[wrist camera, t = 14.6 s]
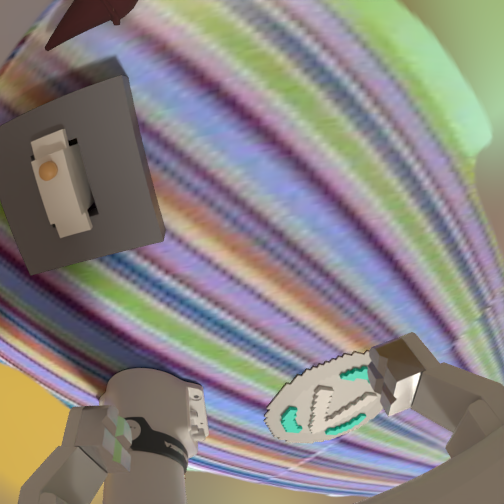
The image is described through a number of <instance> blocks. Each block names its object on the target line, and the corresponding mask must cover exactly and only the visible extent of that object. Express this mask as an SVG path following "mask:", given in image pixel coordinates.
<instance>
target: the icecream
mask: <svg viewBox="0 0 504 504" xmlns="http://www.w3.org/2000/svg"><path fill="white" fill-rule="evenodd" d="M137 1H138V0H74V2H73V3H72V5H71V6H70V7H69V9H68V10H67V12H66V13H65V15H64V17H63V18H62V20H61V21H60V23H59V24H58V26H57V28H56V29H55V31H54V32H53V34H52V36H51V37H50V39H49V41H48V43H47V44H46V46H45V50H47V51H49V50H51V49H53V48H54V47H56V46H58V45H60V44H62V43H63V42H65V41H67V40H69V39H71V38H73V37H75V36H77V35H79V34H81V33H83V32H85V31H87V30H89V29H91V28H94V27H96V26H98V25H100V24H103V23H105V22H107V21H110V20H111V21H113V24H114V25H120V19H121V18H123V17H125V16H126V15H127V14H128V13H129V12H130V11H131V10H132V9H133V8H134V6H135V5H136V3H137Z"/></svg>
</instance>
